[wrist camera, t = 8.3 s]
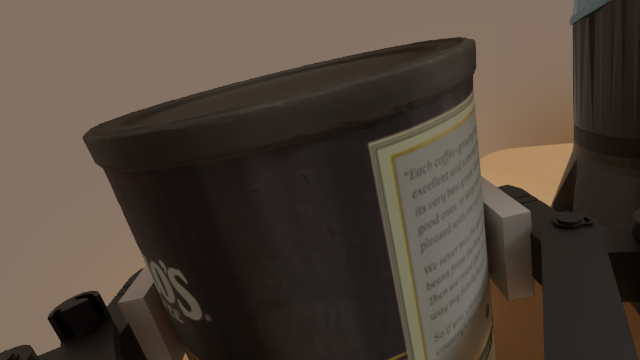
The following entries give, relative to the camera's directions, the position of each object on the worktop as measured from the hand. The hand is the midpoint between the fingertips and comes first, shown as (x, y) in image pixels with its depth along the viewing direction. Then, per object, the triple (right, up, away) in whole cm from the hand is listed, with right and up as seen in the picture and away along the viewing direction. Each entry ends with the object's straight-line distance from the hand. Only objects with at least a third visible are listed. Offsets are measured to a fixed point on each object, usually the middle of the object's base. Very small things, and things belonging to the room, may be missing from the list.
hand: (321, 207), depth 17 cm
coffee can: (+2, -9, -1) cm, 9 cm away
